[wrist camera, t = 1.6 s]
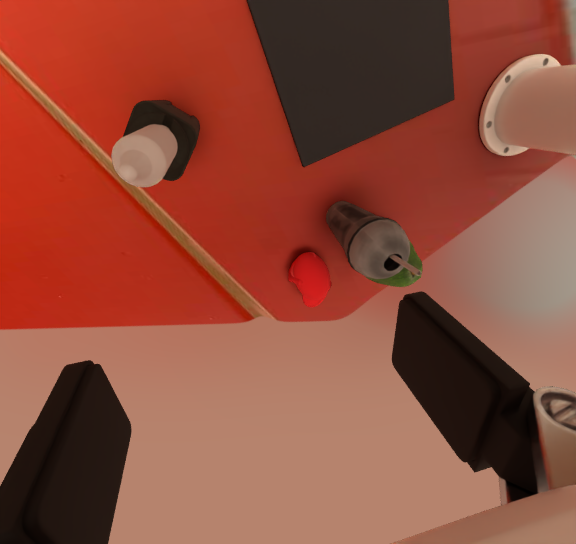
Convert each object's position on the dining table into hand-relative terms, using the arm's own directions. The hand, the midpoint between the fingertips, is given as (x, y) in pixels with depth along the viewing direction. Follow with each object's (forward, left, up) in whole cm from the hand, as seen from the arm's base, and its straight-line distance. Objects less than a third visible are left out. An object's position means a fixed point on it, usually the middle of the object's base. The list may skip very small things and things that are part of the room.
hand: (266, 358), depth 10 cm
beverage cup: (-13, +13, -35) cm, 39 cm away
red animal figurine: (-5, +19, -35) cm, 40 cm away
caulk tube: (+3, -6, -35) cm, 35 cm away
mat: (-21, -7, -34) cm, 41 cm away
